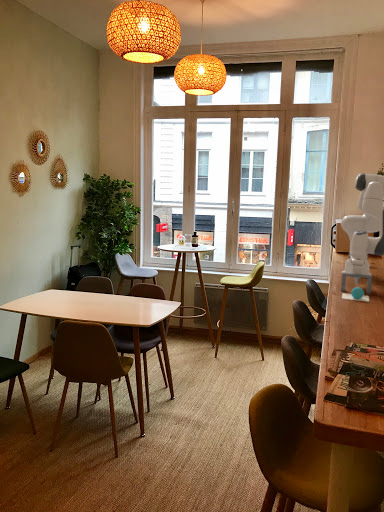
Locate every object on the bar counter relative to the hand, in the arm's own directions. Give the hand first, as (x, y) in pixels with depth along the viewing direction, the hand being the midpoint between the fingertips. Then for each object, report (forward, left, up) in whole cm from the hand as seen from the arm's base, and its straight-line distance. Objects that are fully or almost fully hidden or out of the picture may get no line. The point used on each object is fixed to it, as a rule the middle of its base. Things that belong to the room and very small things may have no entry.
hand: (355, 283), depth 261 cm
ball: (+30, +1, +1) cm, 30 cm away
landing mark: (+27, 0, -2) cm, 27 cm away
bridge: (+13, 0, -2) cm, 13 cm away
